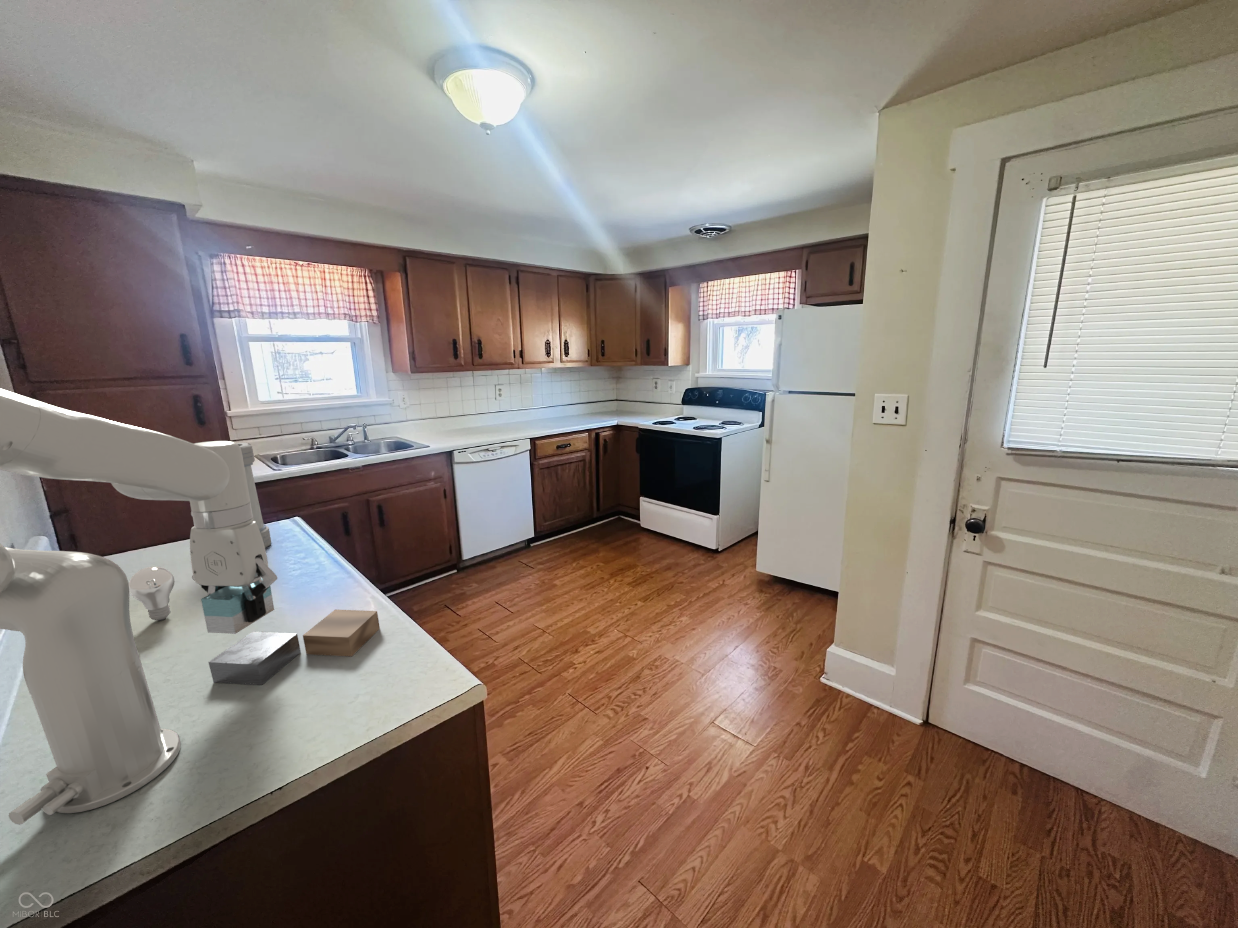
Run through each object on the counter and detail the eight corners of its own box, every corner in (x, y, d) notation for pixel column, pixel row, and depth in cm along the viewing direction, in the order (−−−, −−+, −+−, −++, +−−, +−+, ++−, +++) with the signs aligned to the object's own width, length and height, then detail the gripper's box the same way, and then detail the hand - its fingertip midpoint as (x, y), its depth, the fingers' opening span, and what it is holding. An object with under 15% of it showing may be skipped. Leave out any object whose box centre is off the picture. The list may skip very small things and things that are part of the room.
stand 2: (351, 656, 89) (348, 637, 88) (306, 654, 90) (302, 635, 89) (379, 628, 98) (377, 610, 97) (338, 626, 98) (335, 609, 97)
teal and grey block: (235, 633, 79) (229, 599, 78) (207, 632, 79) (201, 598, 78) (274, 609, 87) (269, 578, 86) (248, 608, 87) (243, 577, 86)
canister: (229, 558, 132) (205, 451, 125) (228, 547, 140) (205, 446, 133) (273, 547, 139) (252, 446, 132) (270, 537, 146) (250, 441, 139)
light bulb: (152, 631, 98) (137, 577, 95) (131, 625, 100) (115, 573, 97) (191, 613, 104) (178, 563, 102) (170, 608, 107) (157, 558, 104)
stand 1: (261, 684, 82) (257, 664, 81) (213, 682, 83) (208, 662, 82) (300, 652, 90) (297, 633, 89) (256, 650, 91) (252, 631, 90)
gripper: (153, 522, 77) (175, 627, 80) (252, 524, 75) (270, 631, 78) (198, 509, 84) (216, 605, 87) (289, 510, 82) (303, 608, 86)
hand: (241, 616), depth 83 cm, fingers closed on teal and grey block, 5 cm apart
